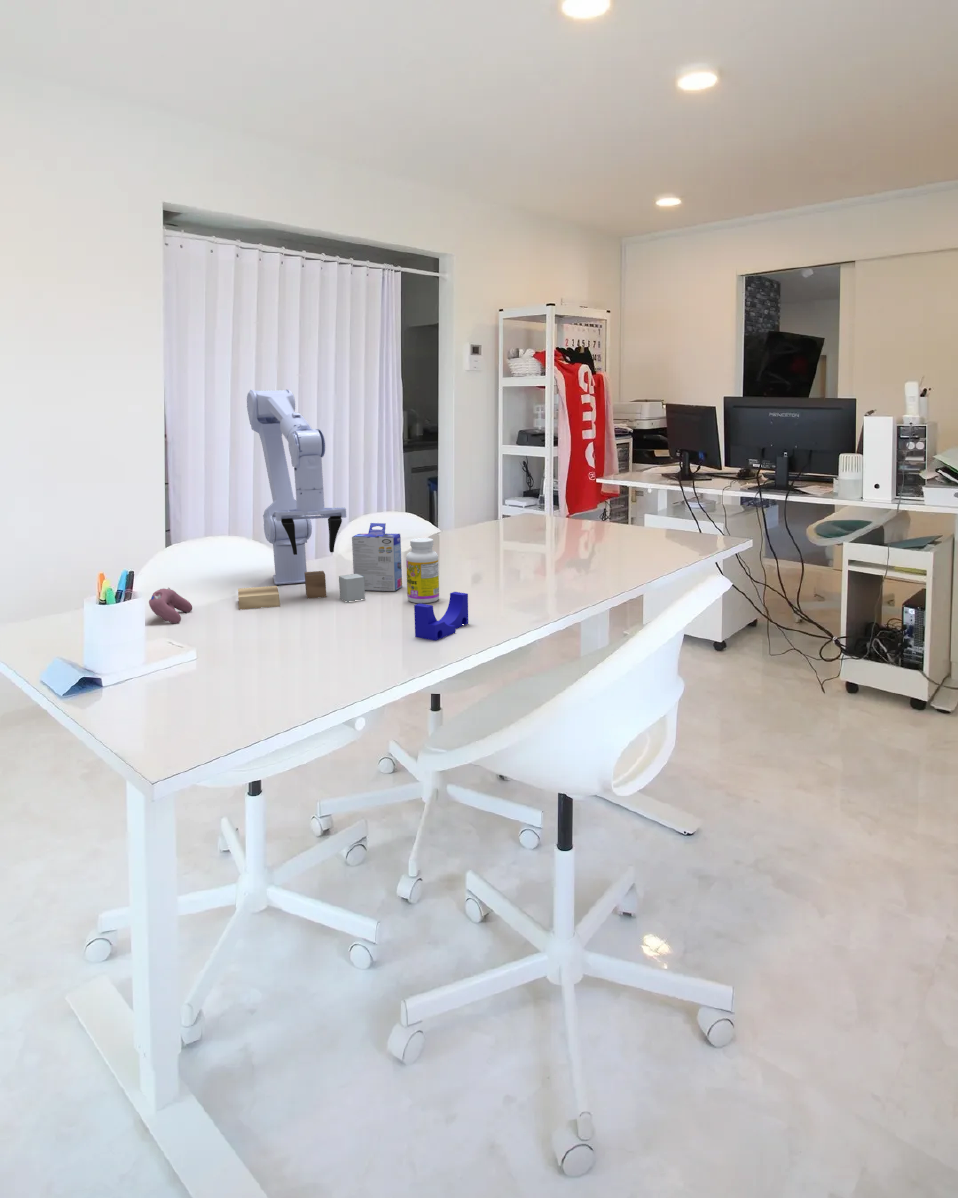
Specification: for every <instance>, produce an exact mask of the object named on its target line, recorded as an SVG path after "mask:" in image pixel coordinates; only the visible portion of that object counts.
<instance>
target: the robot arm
mask: <svg viewBox="0 0 958 1198" xmlns="http://www.w3.org/2000/svg"><path fill="white" fill-rule="evenodd" d="M246 408H247V411H246V412H247V416H248V420H249V424H250V427H251V430H252V431H254V432H256V433H257V434H258V435H259V440H260V442H261V445H262V451H263V456H264V462H265V467H266V472H267V476H268V483H269V488H270V492H271V493H270V494H271V498H272V499H271V500H272V503H270V505H268V506H267V507H266V509H265V510H264V512H263V515H262V517H263V532H264V537H265V539H266V541H267V542H268V543H270V544H272V548H273V561H274V563H273V564H274V574H273V575H272V578H273V582H274V586H278V585H290V584H300V583H301V584H302V583H303V584H305V573H304V572H308V571H307V570H308V569H307V568H308V567H307V559H306V558H307V555H306V543H308V540H309V539H311V536H312V532H313V531H312V529H313V526H312V521H311V520H313V519H327V524H328V525H327V526H328V538H329V539H328V548H329V549H328V550H329V552H330V553H335V544H336V539H337V536H338V533H339V529H340V527H341V526H342V523H343V519H344V518H347V509H346V507H325V494H324V478H323V477H324V476H323V459H322V458H324V456H325V454H326V440H325V439H326V438H325V435H324V432H323V431H322V430H321V429H320V428H317V429H316V428H315V429H314V428H312V426H311V425H310V423H309V422H308V420H307V419H306V418H305V417H304V416H303V415H302V414H301V413H300V412H295V411H296V400H295V395H294V393H293V392H292V391H291V389H284V390H283V389H281V390H279V389H278V390H275V389H274V390H273V389H272V390H270V389H269V390H268V389H267V390H256V389H250V390H249V391H248V392H247V396H246ZM282 436H284V438H285V439H286V441H287V443H288V451H289V454H290V455H289V456H290V460H291V467H292V468H293V469H294V483H295V485H294V487H295V496H294V493H293V488H292V483H291V478H290V472H289V468H288V467H289V466H288V462H287V457H286V452H285V448H284V447H285V446H284V441H283V437H282ZM294 497H295V498H294ZM342 518H343V519H342Z"/></svg>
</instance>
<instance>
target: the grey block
mask: <svg viewBox="0 0 958 1198" xmlns="http://www.w3.org/2000/svg"><path fill="white" fill-rule="evenodd" d="M338 585H339V586H338V587H339V599H340V600H341V599H343V600H345V601H347V602H348V603H350V602H349V601H355V600H361V599H365V600H366V594H365V593H366V592H365V591H366V590H365V588H364V577H363V576H361V575H358V574H354V573H352V574H345V575H338ZM343 600H342V601H343ZM345 601H344V602H345ZM347 602H346V603H347ZM355 602H356V601H355Z"/></svg>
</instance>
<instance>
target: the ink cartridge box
mask: <svg viewBox="0 0 958 1198" xmlns="http://www.w3.org/2000/svg"><path fill="white" fill-rule="evenodd" d="M375 527H380V528H382V529H373V528H375ZM351 542H352V543H351V544H352V545H351V546H352V566H353V567H352V570H353V571H352V572H353V573H352V574H358V575H361V576H363V577H364V588H365V591H374V592H375V591H378V592H379V591H380V592H396V591H397V590H400V589H401V588H403V578H402V577H403V573H402V569H403V568H402V567H403V566H402V545H401V542H402V541H401V533H386V523H385V522H383V523H382V522H380V523H379V522H377V523H376V522H370V525H369V529H368V533H357V534H355V535H353V536H352V537H351Z"/></svg>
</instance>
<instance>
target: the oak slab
mask: <svg viewBox="0 0 958 1198" xmlns="http://www.w3.org/2000/svg"><path fill="white" fill-rule="evenodd" d="M237 595H238V596H237V597H238V606H239V607H238V609H242V610H251V609H250V608H255V609H262V608H261V607H267V608H278V607H281V603H280V593H279V587H278V585H271V586H270V585H269V586H268V585H267V586H257V587H256V586H255V587H242V588H237Z"/></svg>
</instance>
